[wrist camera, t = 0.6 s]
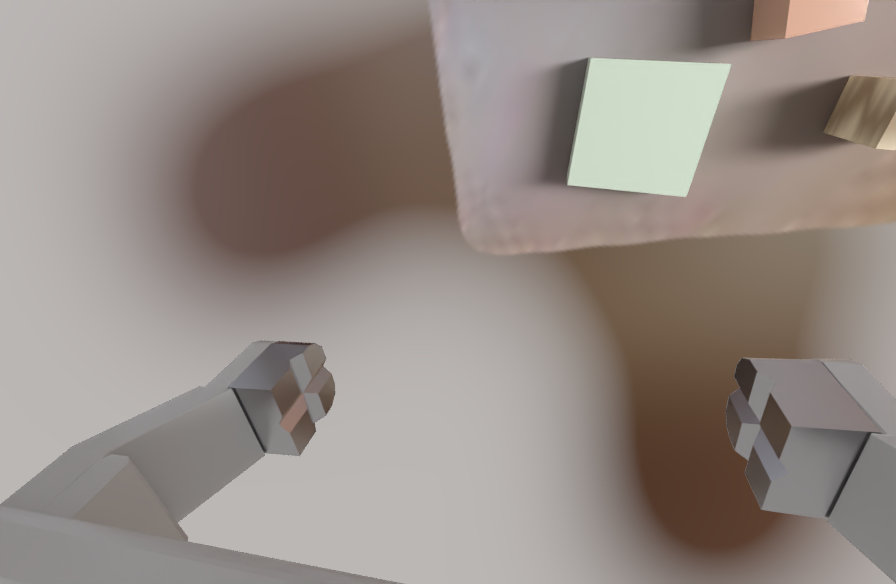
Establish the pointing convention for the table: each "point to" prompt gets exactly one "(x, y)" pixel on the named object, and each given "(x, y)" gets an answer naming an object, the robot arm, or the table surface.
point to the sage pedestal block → (643, 124)
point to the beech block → (866, 112)
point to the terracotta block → (803, 16)
